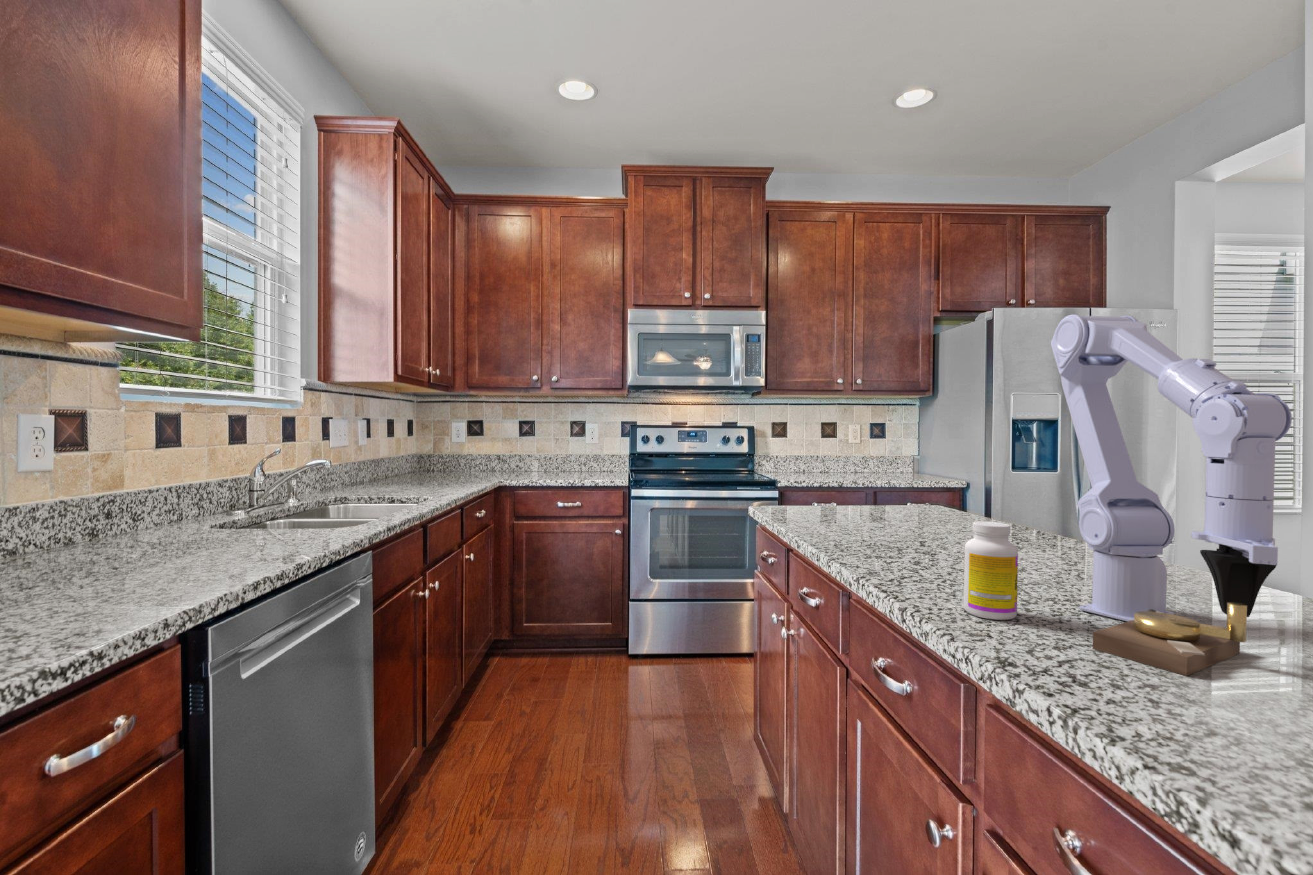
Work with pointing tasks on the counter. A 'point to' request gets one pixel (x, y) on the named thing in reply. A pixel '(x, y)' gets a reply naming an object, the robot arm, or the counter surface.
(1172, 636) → the gold door handle
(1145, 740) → the counter surface
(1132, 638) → the stand
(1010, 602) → the supplement bottle
